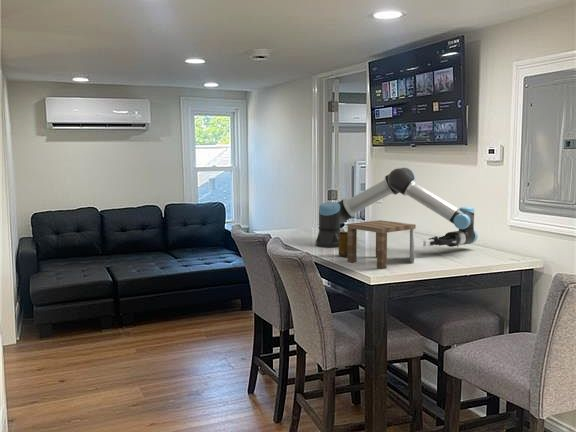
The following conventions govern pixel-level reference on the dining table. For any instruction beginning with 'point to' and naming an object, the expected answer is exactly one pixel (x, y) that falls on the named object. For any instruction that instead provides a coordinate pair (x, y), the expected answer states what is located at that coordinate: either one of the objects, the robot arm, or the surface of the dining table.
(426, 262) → the dining table surface
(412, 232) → the pale teal panel
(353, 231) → the step stool
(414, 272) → the dining table surface
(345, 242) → the condiment
